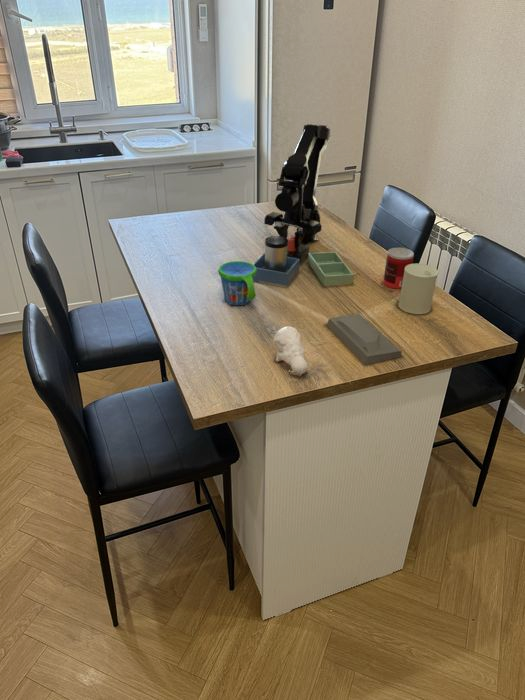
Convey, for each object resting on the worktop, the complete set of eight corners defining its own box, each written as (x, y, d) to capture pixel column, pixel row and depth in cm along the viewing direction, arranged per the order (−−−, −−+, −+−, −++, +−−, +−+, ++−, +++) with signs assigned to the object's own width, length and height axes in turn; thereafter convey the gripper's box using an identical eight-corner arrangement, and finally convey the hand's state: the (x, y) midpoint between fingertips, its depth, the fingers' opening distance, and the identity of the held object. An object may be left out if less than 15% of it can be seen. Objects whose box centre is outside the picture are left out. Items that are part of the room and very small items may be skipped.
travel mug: (283, 269, 176) (285, 235, 170) (288, 278, 170) (290, 243, 164) (262, 270, 175) (263, 236, 169) (266, 279, 169) (267, 244, 163)
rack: (307, 263, 182) (308, 252, 180) (334, 261, 184) (335, 251, 182) (323, 287, 167) (324, 276, 165) (352, 285, 169) (354, 274, 167)
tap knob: (283, 250, 183) (283, 237, 181) (288, 246, 186) (288, 234, 184) (294, 252, 182) (294, 240, 179) (298, 248, 185) (299, 236, 182)
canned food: (410, 283, 171) (416, 250, 165) (404, 293, 165) (410, 259, 159) (386, 278, 174) (391, 245, 168) (379, 288, 168) (385, 254, 162)
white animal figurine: (297, 321, 132) (318, 350, 123) (294, 349, 137) (313, 379, 128) (272, 325, 130) (292, 355, 121) (270, 353, 135) (288, 384, 126)
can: (412, 317, 153) (420, 278, 146) (391, 303, 159) (397, 265, 153) (437, 310, 156) (446, 271, 150) (416, 296, 163) (423, 259, 157)
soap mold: (365, 364, 132) (367, 352, 130) (326, 325, 148) (327, 314, 146) (401, 356, 136) (403, 344, 134) (359, 319, 151) (361, 307, 149)
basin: (263, 265, 180) (263, 252, 177) (299, 272, 176) (299, 258, 174) (249, 280, 170) (249, 267, 167) (287, 287, 166) (287, 273, 164)
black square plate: (281, 250, 191) (281, 241, 189) (308, 254, 188) (309, 246, 186) (271, 260, 183) (272, 251, 181) (300, 265, 180) (300, 256, 179)
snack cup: (210, 292, 163) (209, 260, 157) (243, 286, 167) (243, 255, 161) (231, 316, 151) (231, 282, 145) (265, 308, 155) (266, 275, 149)
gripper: (331, 201, 177) (327, 246, 185) (281, 190, 185) (279, 234, 194) (314, 210, 169) (311, 257, 177) (263, 199, 177) (262, 244, 186)
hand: (291, 247), depth 184 cm, fingers closed on tap knob, 4 cm apart
